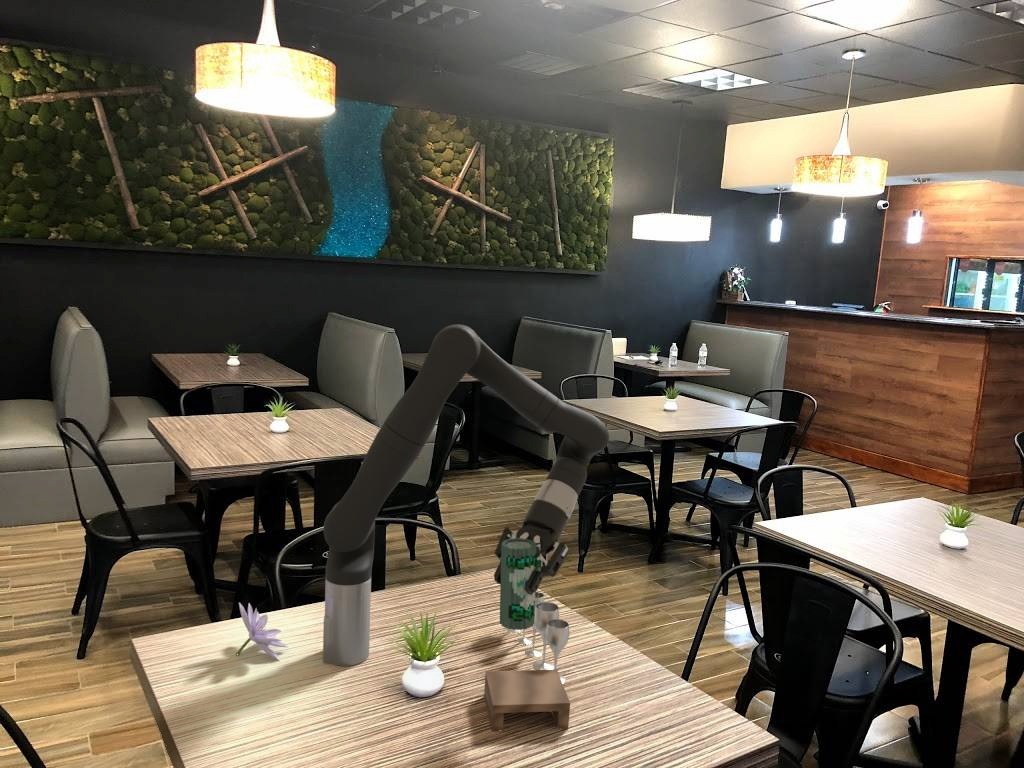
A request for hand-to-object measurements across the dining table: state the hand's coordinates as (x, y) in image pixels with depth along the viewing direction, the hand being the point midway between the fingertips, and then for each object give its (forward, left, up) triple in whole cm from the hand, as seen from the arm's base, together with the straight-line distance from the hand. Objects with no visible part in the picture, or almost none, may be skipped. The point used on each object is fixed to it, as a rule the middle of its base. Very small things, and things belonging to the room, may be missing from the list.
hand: (512, 587), depth 145 cm
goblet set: (+9, +24, -25) cm, 36 cm away
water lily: (-47, +26, -25) cm, 60 cm away
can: (+1, +1, -7) cm, 8 cm away
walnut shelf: (+4, +1, -25) cm, 25 cm away
